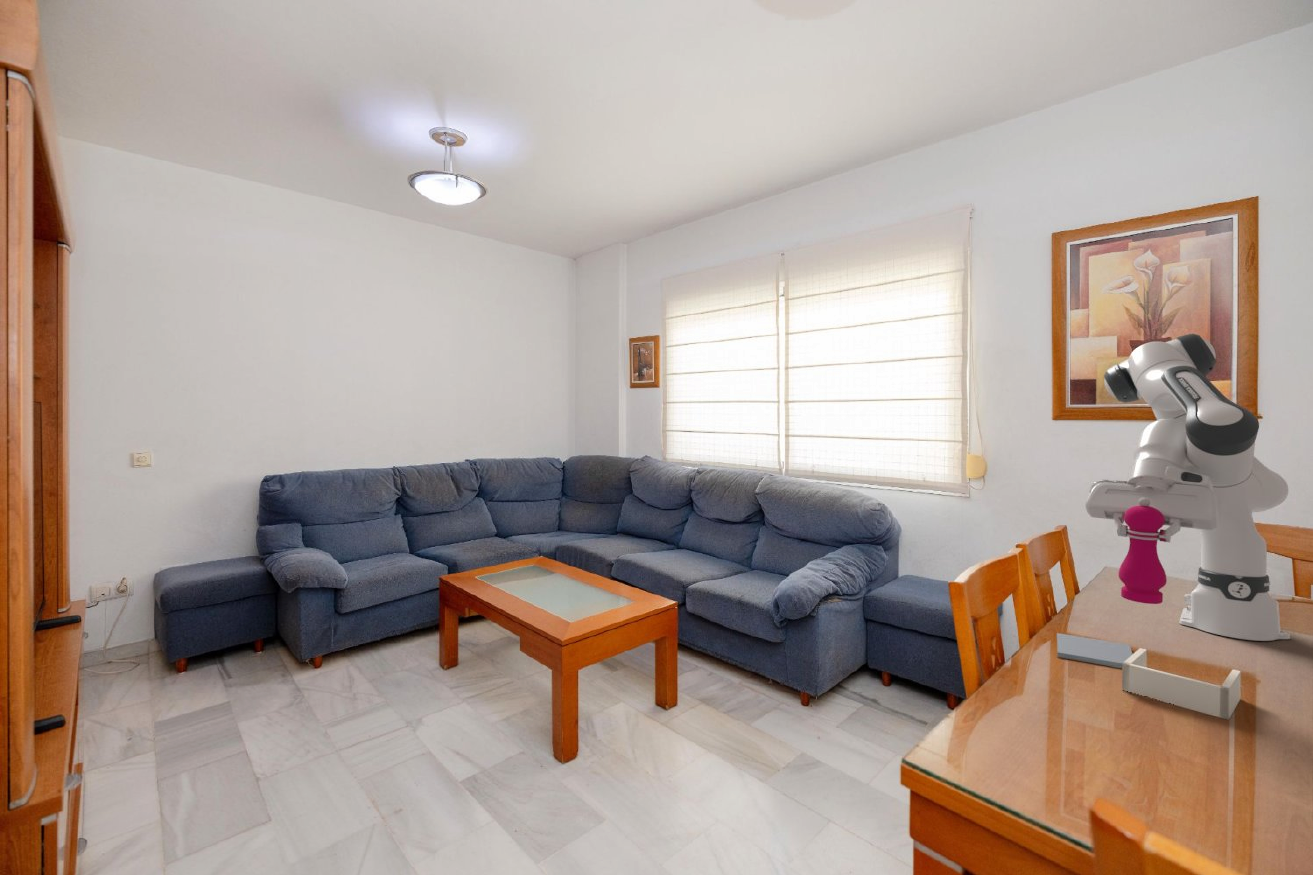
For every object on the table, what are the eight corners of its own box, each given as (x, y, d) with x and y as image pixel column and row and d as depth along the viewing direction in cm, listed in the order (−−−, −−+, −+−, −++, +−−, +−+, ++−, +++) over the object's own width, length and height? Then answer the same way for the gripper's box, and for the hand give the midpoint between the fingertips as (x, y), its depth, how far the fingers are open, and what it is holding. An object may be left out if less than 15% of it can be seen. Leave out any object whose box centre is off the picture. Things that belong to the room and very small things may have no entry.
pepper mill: (1175, 605, 110) (1178, 500, 109) (1133, 603, 111) (1136, 499, 110) (1149, 594, 117) (1152, 495, 116) (1109, 592, 118) (1112, 494, 117)
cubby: (1140, 673, 114) (1140, 647, 114) (1240, 698, 103) (1240, 670, 103) (1122, 690, 106) (1122, 663, 106) (1228, 719, 95) (1228, 689, 95)
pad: (1056, 637, 134) (1056, 633, 134) (1129, 649, 126) (1129, 644, 126) (1057, 656, 122) (1057, 652, 122) (1137, 670, 115) (1137, 665, 115)
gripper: (1090, 470, 125) (1075, 519, 119) (1221, 477, 110) (1212, 535, 104) (1095, 488, 128) (1081, 538, 122) (1223, 498, 113) (1215, 556, 107)
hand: (1142, 537), depth 113 cm, fingers closed on pepper mill, 5 cm apart
